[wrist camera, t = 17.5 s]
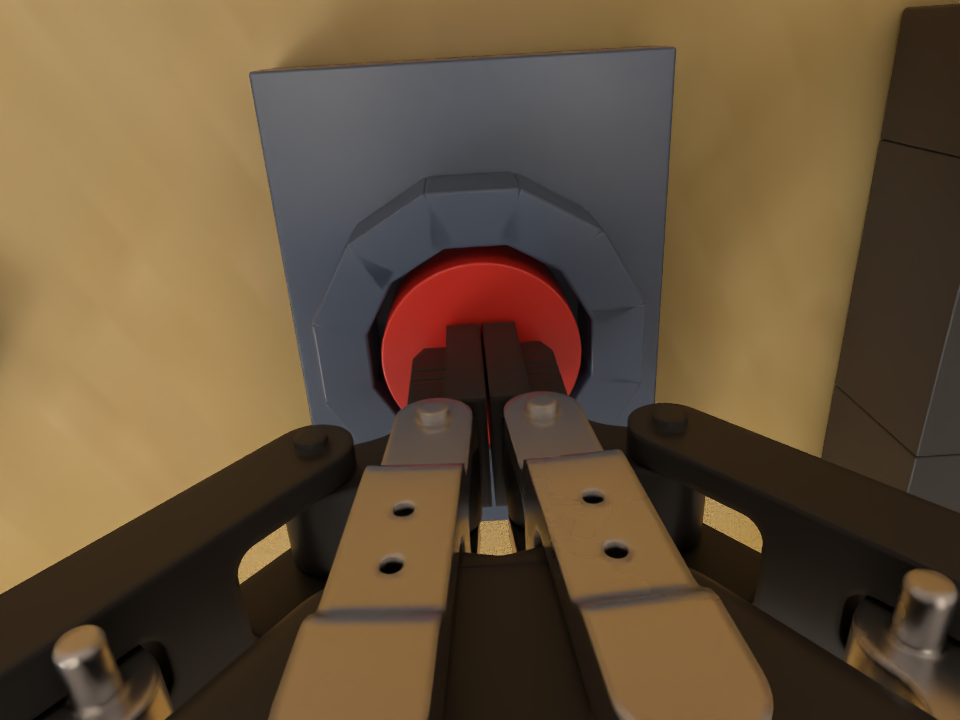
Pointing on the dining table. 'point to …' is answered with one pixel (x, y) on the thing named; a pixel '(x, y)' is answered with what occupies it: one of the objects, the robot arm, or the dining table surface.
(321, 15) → the dining table surface
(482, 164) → the power block
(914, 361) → the socket
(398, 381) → the power button
